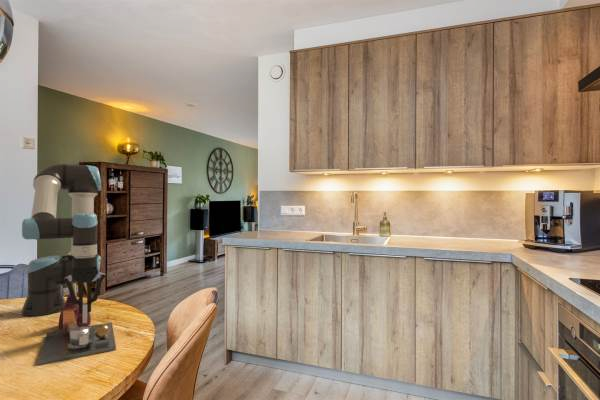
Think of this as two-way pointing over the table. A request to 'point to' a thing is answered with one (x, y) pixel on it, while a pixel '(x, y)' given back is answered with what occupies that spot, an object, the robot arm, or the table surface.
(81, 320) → the vegetable
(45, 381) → the table surface
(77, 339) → the lever
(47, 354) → the base
